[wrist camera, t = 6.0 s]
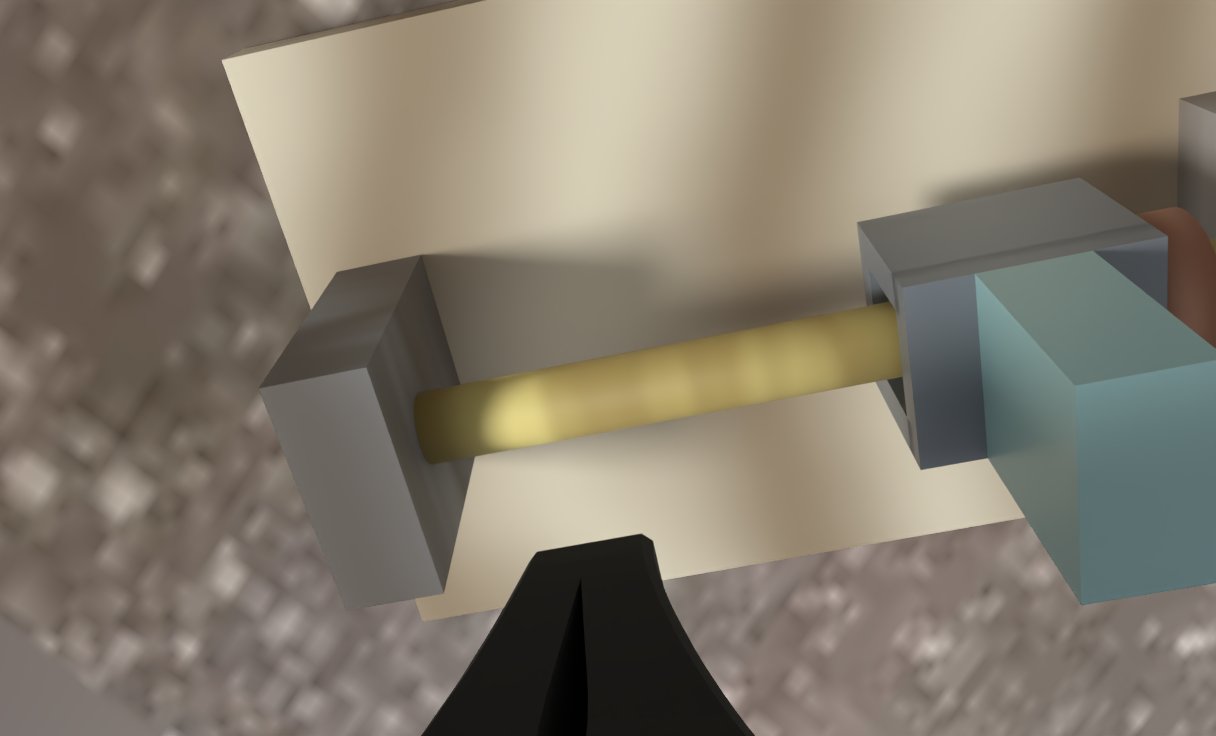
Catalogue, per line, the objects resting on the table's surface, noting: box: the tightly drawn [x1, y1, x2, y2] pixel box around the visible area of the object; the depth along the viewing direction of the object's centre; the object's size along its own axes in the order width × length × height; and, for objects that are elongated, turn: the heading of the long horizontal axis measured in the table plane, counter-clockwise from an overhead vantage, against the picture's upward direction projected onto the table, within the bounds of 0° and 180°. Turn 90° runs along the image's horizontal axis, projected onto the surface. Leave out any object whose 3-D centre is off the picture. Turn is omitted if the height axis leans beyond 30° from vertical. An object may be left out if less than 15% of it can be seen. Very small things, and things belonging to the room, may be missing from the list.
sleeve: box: [857, 178, 1216, 605], centre depth 15 cm, size 4×3×6 cm
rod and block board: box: [222, 0, 1216, 622], centre depth 18 cm, size 18×12×6 cm, turn 102°
